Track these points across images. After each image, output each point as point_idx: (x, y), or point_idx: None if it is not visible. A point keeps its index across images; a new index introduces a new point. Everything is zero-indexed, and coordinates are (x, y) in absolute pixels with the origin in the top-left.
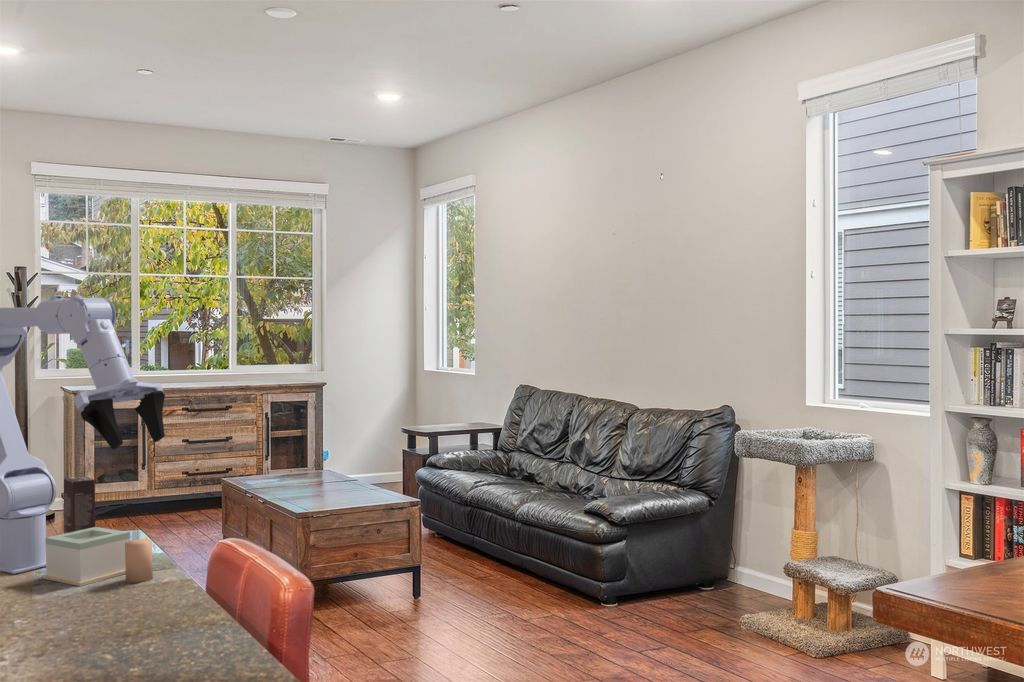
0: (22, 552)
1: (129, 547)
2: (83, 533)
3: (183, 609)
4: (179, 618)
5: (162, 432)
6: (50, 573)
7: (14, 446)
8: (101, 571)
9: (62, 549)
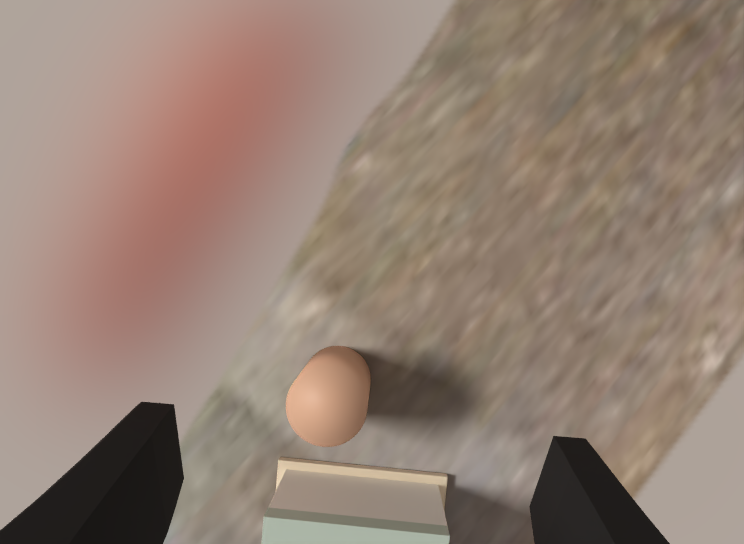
0: None
1: (367, 399)
2: None
3: (494, 60)
4: (552, 14)
5: (143, 417)
6: None
7: None
8: (375, 483)
9: None
